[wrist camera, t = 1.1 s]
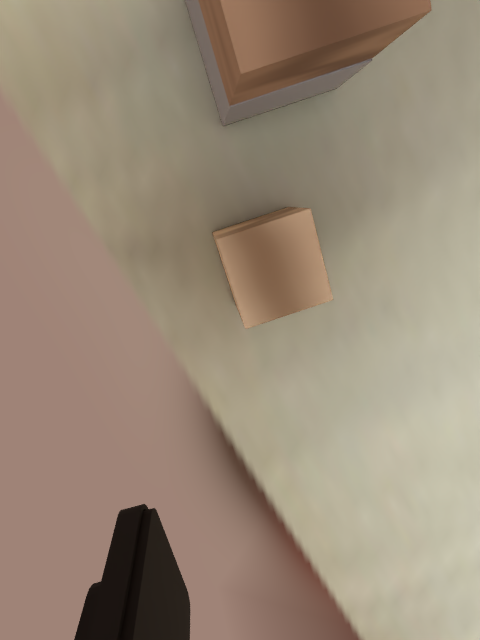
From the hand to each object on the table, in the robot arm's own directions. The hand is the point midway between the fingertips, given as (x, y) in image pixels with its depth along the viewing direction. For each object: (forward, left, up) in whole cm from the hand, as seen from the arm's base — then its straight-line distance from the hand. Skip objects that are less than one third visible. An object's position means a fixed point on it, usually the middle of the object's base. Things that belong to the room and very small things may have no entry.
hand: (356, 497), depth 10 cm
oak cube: (-1, -3, -18) cm, 18 cm away
